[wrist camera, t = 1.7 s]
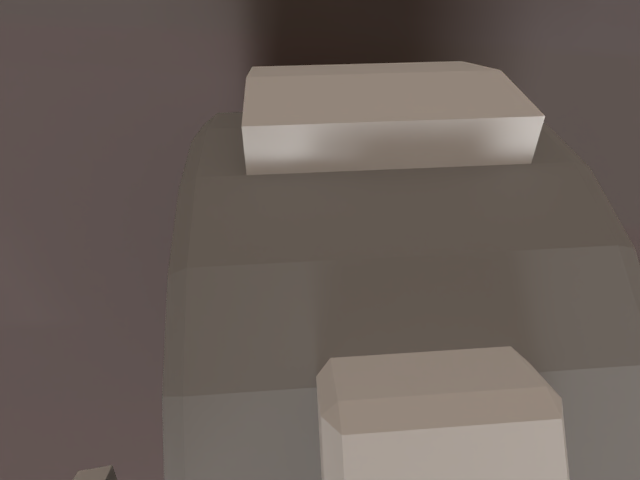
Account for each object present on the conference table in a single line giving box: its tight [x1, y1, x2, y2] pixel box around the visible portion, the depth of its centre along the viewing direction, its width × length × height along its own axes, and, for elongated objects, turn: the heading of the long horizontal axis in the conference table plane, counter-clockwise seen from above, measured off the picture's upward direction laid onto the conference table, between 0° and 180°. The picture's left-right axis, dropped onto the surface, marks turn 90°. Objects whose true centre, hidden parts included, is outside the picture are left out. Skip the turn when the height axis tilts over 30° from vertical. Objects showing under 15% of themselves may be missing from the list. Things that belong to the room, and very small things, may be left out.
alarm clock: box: [162, 61, 640, 480], centre depth 16 cm, size 18×8×20 cm, turn 2°
